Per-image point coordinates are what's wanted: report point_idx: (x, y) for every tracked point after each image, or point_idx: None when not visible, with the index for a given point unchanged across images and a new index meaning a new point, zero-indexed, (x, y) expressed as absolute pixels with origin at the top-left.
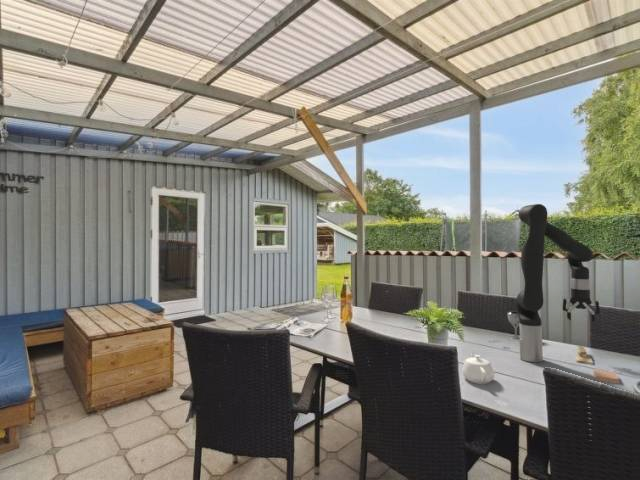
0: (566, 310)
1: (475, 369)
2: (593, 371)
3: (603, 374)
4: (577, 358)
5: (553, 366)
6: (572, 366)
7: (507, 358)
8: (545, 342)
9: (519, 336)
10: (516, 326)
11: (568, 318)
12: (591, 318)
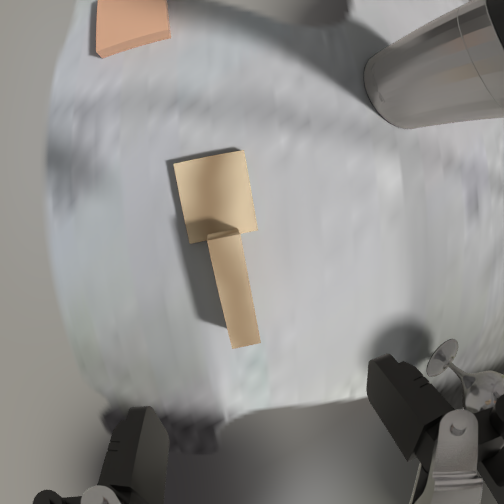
0: (479, 424)
1: None
2: (169, 28)
3: (137, 2)
4: (243, 186)
5: (316, 38)
6: (252, 74)
7: None
8: None
9: (435, 370)
10: (468, 376)
11: (399, 365)
12: (135, 440)
